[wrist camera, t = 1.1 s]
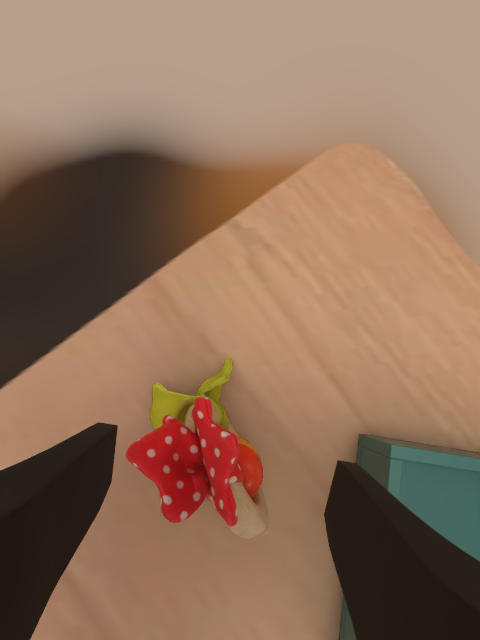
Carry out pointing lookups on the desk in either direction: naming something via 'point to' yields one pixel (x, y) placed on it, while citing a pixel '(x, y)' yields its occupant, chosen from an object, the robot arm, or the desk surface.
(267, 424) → the desk surface
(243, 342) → the desk surface
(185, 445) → the bird rattle
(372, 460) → the open box
